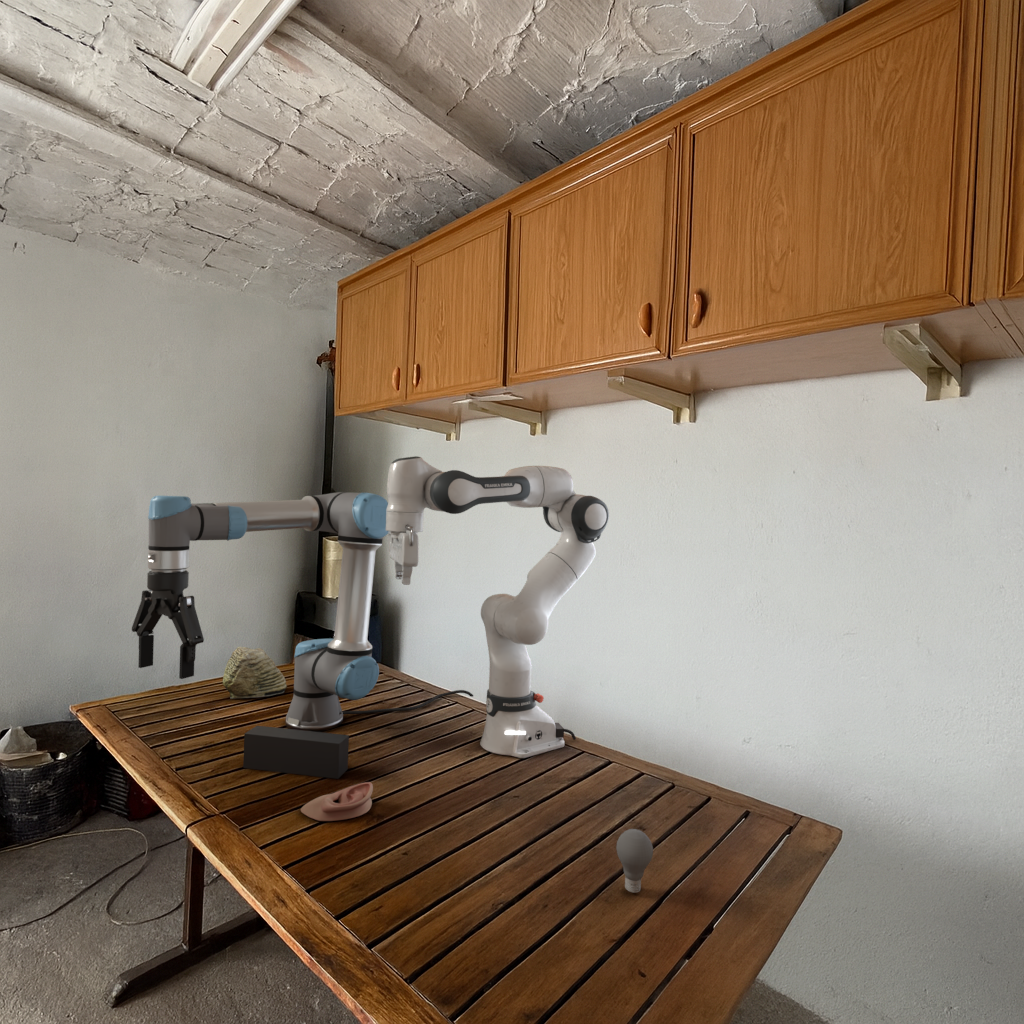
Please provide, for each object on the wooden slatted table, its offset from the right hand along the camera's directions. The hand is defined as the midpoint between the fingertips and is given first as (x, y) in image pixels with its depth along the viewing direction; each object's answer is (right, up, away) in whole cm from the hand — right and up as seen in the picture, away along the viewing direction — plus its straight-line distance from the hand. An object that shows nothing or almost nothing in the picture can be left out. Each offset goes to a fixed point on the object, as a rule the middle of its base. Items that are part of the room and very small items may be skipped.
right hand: (402, 581), depth 152 cm
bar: (-24, -43, -5) cm, 49 cm away
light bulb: (+46, -47, -46) cm, 80 cm away
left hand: (-46, -17, -20) cm, 53 cm away
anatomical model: (-9, -44, -23) cm, 50 cm away
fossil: (-54, -41, +46) cm, 82 cm away
